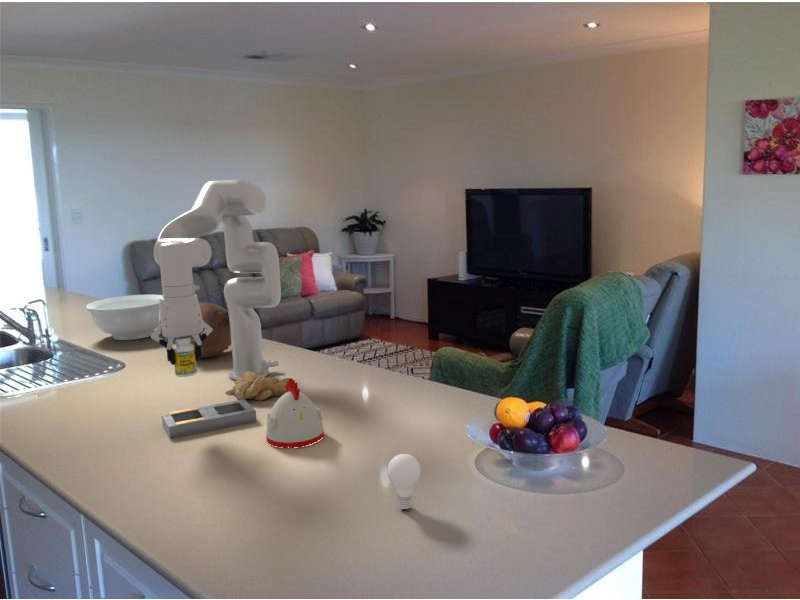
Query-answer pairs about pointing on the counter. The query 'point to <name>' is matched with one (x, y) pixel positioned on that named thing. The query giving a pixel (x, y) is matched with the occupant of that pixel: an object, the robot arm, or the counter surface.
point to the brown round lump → (214, 330)
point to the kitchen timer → (294, 420)
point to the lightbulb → (404, 477)
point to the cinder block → (208, 418)
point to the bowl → (127, 316)
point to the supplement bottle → (184, 357)
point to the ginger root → (257, 387)
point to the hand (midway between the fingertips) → (184, 361)
